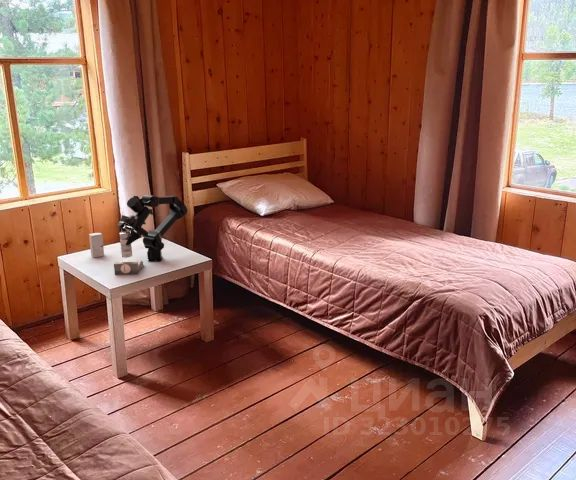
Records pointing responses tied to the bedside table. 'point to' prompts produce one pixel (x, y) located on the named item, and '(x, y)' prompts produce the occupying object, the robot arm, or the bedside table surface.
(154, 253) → the robot arm
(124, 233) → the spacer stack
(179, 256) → the bedside table surface
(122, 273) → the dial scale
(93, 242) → the skincare box
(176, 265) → the bedside table surface
